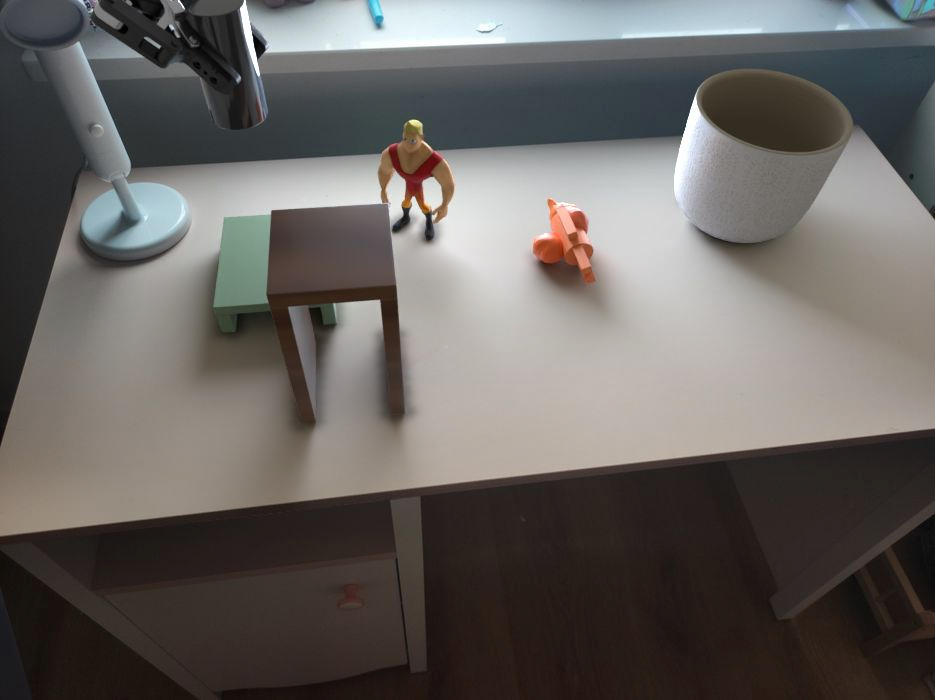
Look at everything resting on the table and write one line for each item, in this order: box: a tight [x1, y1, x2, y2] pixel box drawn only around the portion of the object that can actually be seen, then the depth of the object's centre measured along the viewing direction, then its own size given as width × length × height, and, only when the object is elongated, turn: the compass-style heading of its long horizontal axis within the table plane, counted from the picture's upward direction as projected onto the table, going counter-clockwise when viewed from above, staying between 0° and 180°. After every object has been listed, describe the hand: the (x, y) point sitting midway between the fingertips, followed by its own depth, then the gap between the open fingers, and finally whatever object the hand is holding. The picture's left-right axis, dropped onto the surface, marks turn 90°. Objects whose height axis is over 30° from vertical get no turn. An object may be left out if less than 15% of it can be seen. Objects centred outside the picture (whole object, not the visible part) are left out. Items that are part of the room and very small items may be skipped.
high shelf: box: [266, 202, 406, 424], centre depth 64 cm, size 10×10×18 cm
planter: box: [673, 68, 854, 244], centre depth 83 cm, size 17×17×15 cm
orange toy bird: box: [532, 197, 597, 285], centre depth 82 cm, size 5×8×12 cm
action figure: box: [377, 119, 456, 240], centre depth 80 cm, size 10×4×15 cm, turn 70°
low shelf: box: [212, 213, 338, 334], centre depth 78 cm, size 14×12×4 cm
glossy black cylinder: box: [180, 0, 269, 131], centre depth 59 cm, size 5×5×10 cm
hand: (248, 69), depth 59 cm, fingers closed on glossy black cylinder, 5 cm apart
